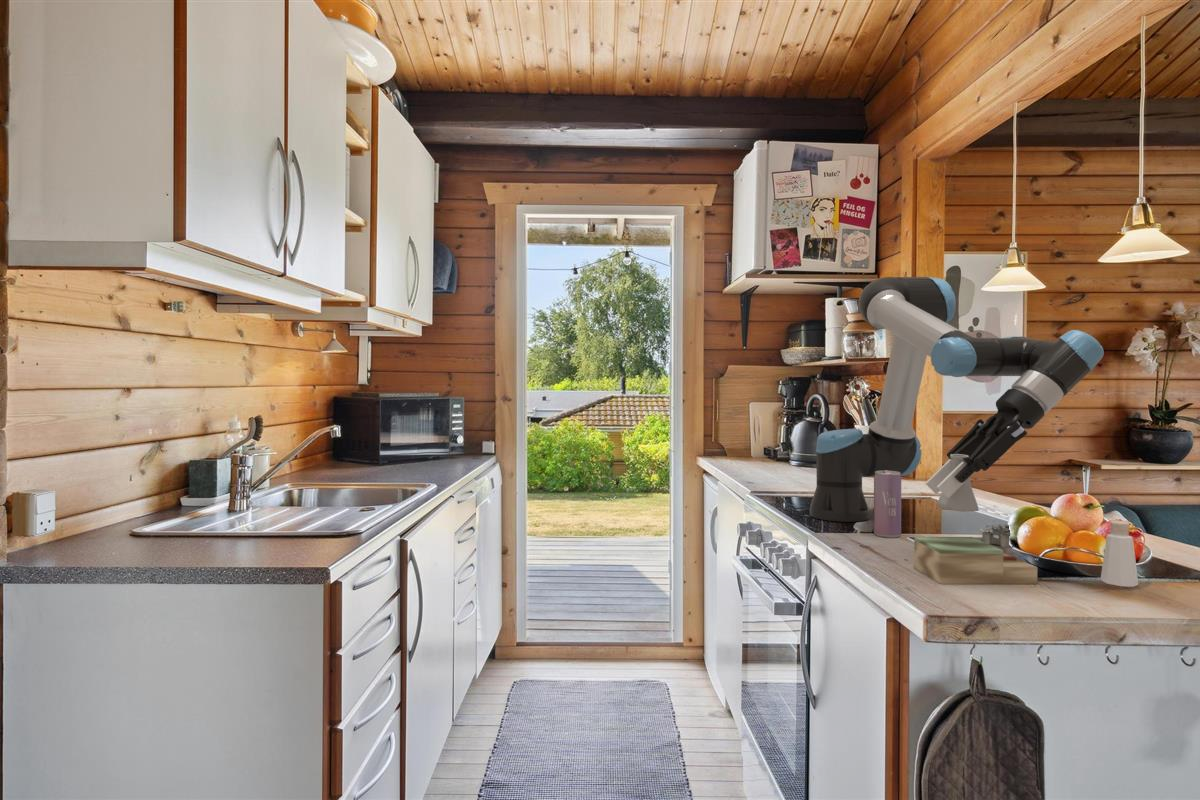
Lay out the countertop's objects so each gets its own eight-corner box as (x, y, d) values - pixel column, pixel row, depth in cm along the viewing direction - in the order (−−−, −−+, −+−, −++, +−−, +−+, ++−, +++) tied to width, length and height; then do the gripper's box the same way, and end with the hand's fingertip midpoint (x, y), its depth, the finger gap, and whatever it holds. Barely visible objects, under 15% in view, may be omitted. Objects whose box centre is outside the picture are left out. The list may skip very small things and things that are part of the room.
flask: (985, 513, 125) (988, 458, 124) (943, 512, 126) (945, 457, 125) (971, 504, 132) (973, 452, 131) (930, 503, 133) (932, 451, 132)
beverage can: (898, 533, 166) (898, 470, 165) (903, 538, 160) (903, 473, 160) (871, 532, 167) (872, 470, 167) (875, 537, 161) (876, 473, 161)
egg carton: (1010, 549, 150) (1010, 531, 150) (975, 543, 157) (976, 525, 157) (1035, 543, 156) (1035, 525, 156) (1001, 537, 162) (1001, 519, 162)
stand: (914, 567, 135) (914, 536, 135) (1002, 567, 134) (1003, 536, 134) (940, 583, 124) (940, 550, 124) (1037, 584, 123) (1037, 550, 123)
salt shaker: (1120, 588, 121) (1121, 525, 121) (1092, 579, 126) (1093, 519, 126) (1146, 586, 122) (1147, 523, 122) (1117, 577, 127) (1118, 518, 127)
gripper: (1072, 417, 120) (974, 513, 120) (1015, 413, 137) (930, 497, 137) (1041, 386, 120) (943, 482, 120) (988, 386, 137) (903, 470, 137)
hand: (936, 490), depth 129 cm, fingers closed on flask, 4 cm apart
